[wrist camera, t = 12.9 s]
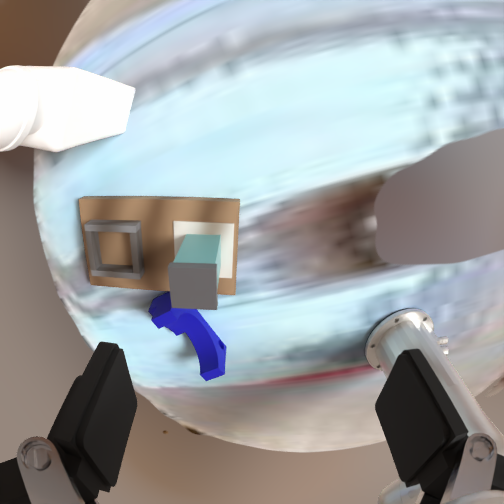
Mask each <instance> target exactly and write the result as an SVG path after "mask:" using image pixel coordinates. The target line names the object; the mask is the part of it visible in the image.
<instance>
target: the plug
mask: <svg viewBox="0 0 504 504" xmlns="http://www.w3.org/2000/svg"><path fill="white" fill-rule="evenodd" d="M220 268H221V235H203V234H186V236H185V238H184V240H183V242H182V245H181V247H180V249H179V251H178V253H177V255H176V257H175V259H174V262H170V263H169V265H168V276H169V287H170V296H171V305H172V308H182V309H205V310H217V306H218V295H217V289H218V282H219V275H220Z"/></svg>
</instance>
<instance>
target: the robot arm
mask: <svg viewBox="0 0 504 504" xmlns="http://www.w3.org/2000/svg"><path fill="white" fill-rule="evenodd" d="M447 343H448V337H447V336H444V337H437V336H436V335H435V333H434V324H433V321H432V319H431V318H430V316H429V315H428V314H427V313H426V312H424V311H422V310H420V309H405V310H401V311H399V312H396V313H394V314H392V315H391V316H389V317H387V318H386V319H385V320H383V321H382V322H381V323H380V324H379V325H378V326H377V327H376V328H375V329H374V330H373V332H372V333H371V335H370V336H369V338H368V340H367V343H366V347H365V355H366V358H367V360H368V362H369V364H370V365H371V366H372V367H373V368H375V369H377V370H381V371H383V372H384V374H385V376H386V378H387V381H386V383H385V385H384V387H383V389H382V391H381V393H380V395H379V397H378V399H377V401H376V404H375V410H376V413H377V416H378V418H379V421H380V424H381V426H382V429H383V432H384V434H385V437H386V440H387V443H388V445H389V448H390V451H391V454H392V457H393V460H394V462H395V465H396V468H397V471H398V474H399V477H400V478H399V479H397V480H396V481H394V482H392V483H391V484H389V485H388V486H386V487H385V488H384V489H383V490H382V492H381V493H380V495H379V498H378V504H504V436H503V435H502V434H501V432H500V431H499V430H498V429H497V428H496V427H495V425H494V424H493V423H492V422H491V420H490V419H489V418H488V417H487V415H486V414H485V413H484V411H483V410H482V409H481V407H480V405H479V404H478V403H477V401H476V400H475V398H474V397H473V395H472V393H471V392H470V390H469V389H468V387H467V386H466V384H465V383H464V381H463V380H462V378H461V377H460V375H459V374H458V372H457V371H456V369H455V368H454V366H453V365H452V363H451V362H450V360H449V359H448V357H447V355H448V347H447V346H439V345H443V344H447ZM136 409H137V399H136V395H135V392H134V388H133V385H132V381H131V378H130V374H129V370H128V367H127V363H126V359H125V355H124V351H123V349H120V348H119V347H118V345H117V344H115V343H108V342H100V343H99V344H98V346H97V348H96V350H95V351H94V353H93V355H92V357H91V359H90V361H89V363H88V365H87V367H86V369H85V371H84V373H83V375H82V376H78V377H77V378H76V379H75V381H74V383H73V385H72V387H71V389H70V391H69V393H68V395H67V397H66V399H65V401H64V403H63V405H62V407H61V409H60V411H59V413H58V415H57V417H56V419H55V422H54V424H53V426H52V428H51V430H50V433H49V435H48V437H47V439H45V438H43V437H38V436H36V437H30V438H28V439H26V440H25V441H24V442H23V443H21V444H20V446H19V448H18V451H17V457H16V458H14V459H11V460H8V461H5V462H2V463H0V504H99V503H98V501H97V499H96V498H97V497H98V493H99V490H102V491H106V492H110V488H111V486H113V487H114V486H115V484H116V482H117V479H118V474H119V470H120V467H121V462H122V459H123V455H124V452H125V448H126V444H127V440H128V437H129V433H130V430H131V426H132V423H133V419H134V416H135V412H136Z"/></svg>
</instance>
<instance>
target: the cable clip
mask: <svg viewBox="0 0 504 504" xmlns="http://www.w3.org/2000/svg"><path fill="white" fill-rule="evenodd" d="M148 311H149V312H150V314H151V315H152V316H153V317H152V319H151V320H152V322H153V323H154V324H155V325H156V326H157V328H158V329H159V328H162V327H164V326H165V327H167V328H169V329H170V330H171V331H172V332H174V333H175V334H176V336H177V335H180V334H182V333H184V332H185V333H186V334H187V335H188V337H189V338H190V340H191V341H192V343H193V345H194V347H195V350H196V352H197V355H198V359H199V363H200V375H201V376H202V377H203V378H204V379H205V380H206V381H208V380H211V379H213V378H216V377H219V376H222V375H224V374H225V358H226V346H225V345H224V343H223V342H222V341H221V340H220V338H219V337H218V336H217V335H216V333H215V332H214V331H213V330H212V328H211V327H210V326H209V325H208V323H207V322H206V321H205V319H204V318H203V317H202V316H201V314H200V313H199V312H198V310H197V309H182V308H172V305H171V296H170V291H168V292H166V293H164V294H163V295H161V296H159V297H157V298H155V299H153V301H152V303H151V306H150V308H149V310H148Z"/></svg>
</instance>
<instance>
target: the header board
mask: <svg viewBox="0 0 504 504" xmlns="http://www.w3.org/2000/svg"><path fill="white" fill-rule="evenodd" d="M79 207H80V217H81V225H82V233H83V241H84V248H85V254H86V260H87V266H88V272H89V278H90V283H91V285H97V286H108V287H119V288H131V289H144V290H157V291H170V287H169V276H168V265H169V263H170V262H174V259H175V257H176V255H177V253H178V251H179V249H180V247H181V245H182V242H183V240H184V238H185V236H186V234H203V235H221V268H220V275H219V282H218V289H217V294H223V295H235V291H236V268H237V247H238V227H239V207H240V199H229V198H204V197H166V196H84V197H82V198H80V199H79Z"/></svg>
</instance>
